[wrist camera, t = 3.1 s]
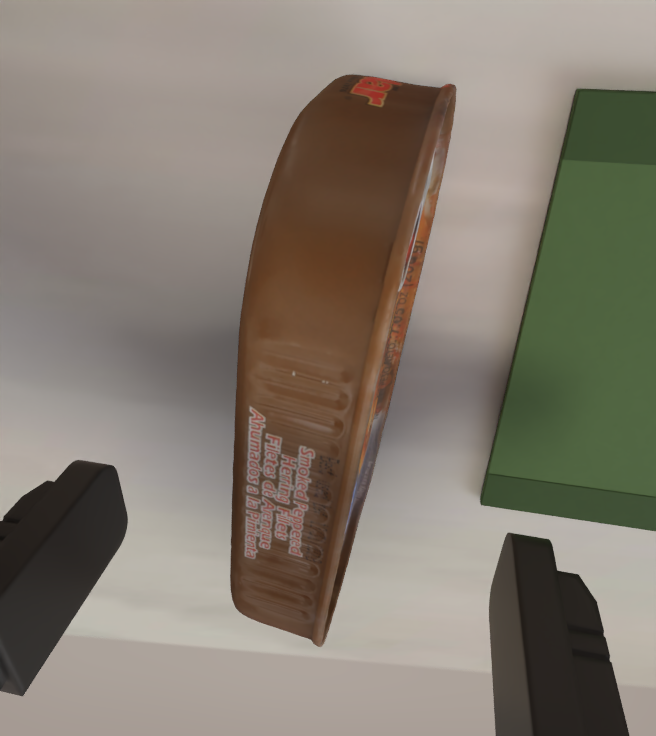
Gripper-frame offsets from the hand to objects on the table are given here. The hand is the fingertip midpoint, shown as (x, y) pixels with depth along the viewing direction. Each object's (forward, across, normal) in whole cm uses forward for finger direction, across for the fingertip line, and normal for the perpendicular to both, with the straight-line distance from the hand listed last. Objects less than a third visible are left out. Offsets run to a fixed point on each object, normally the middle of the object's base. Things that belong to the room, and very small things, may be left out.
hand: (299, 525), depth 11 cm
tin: (+8, 0, 0) cm, 9 cm away
